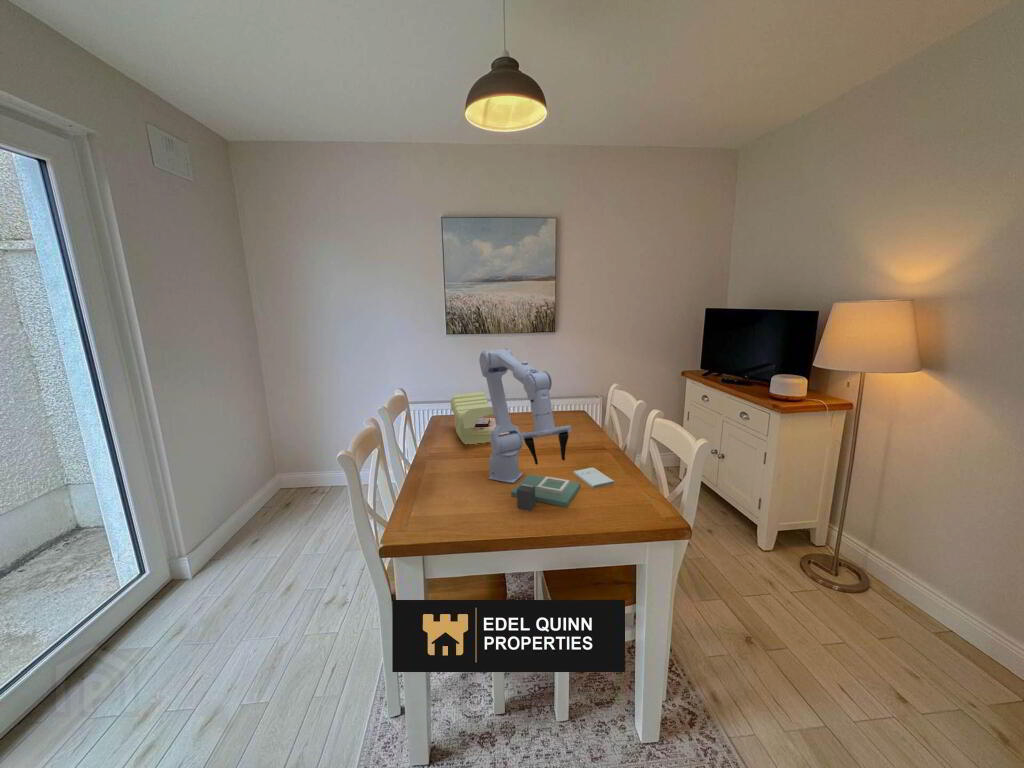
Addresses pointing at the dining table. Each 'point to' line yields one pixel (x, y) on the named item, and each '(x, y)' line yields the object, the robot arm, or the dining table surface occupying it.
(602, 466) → the dining table surface
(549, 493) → the board
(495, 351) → the robot arm
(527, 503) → the dark grey block
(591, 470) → the external hard drive
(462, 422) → the ridged pale green box
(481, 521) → the dining table surface
